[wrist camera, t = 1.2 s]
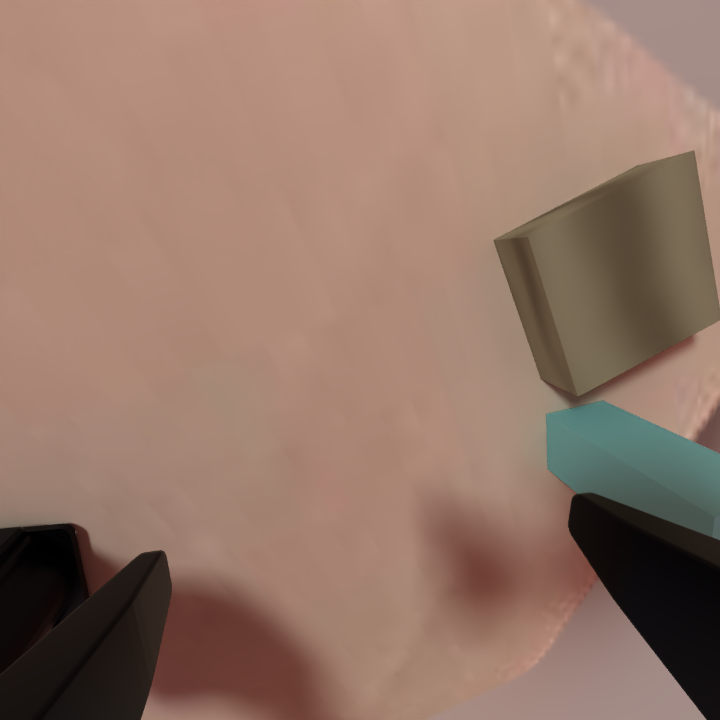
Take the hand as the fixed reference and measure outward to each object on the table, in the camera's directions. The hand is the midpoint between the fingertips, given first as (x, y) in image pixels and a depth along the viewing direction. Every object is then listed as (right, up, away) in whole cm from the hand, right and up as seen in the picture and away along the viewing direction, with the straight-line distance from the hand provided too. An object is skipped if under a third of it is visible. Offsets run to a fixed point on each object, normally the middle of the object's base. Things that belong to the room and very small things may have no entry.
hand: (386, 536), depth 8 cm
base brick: (+12, +9, +14) cm, 21 cm away
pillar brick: (+13, -1, +16) cm, 21 cm away
